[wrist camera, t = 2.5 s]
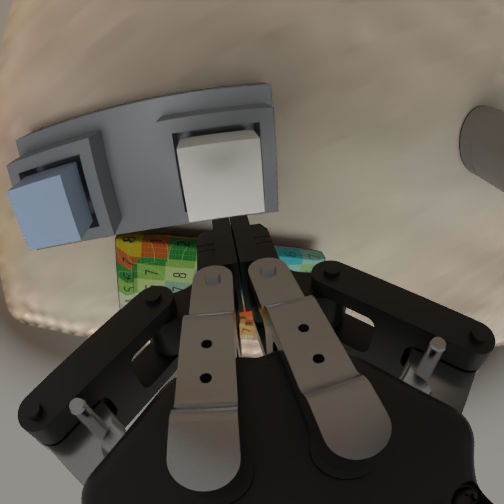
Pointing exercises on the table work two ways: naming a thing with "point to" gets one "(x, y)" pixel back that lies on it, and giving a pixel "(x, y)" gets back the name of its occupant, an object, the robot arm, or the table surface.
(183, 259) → the puzzle game
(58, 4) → the table surface
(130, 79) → the table surface
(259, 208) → the white key
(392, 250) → the table surface
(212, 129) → the grey plastic block
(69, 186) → the blue key
